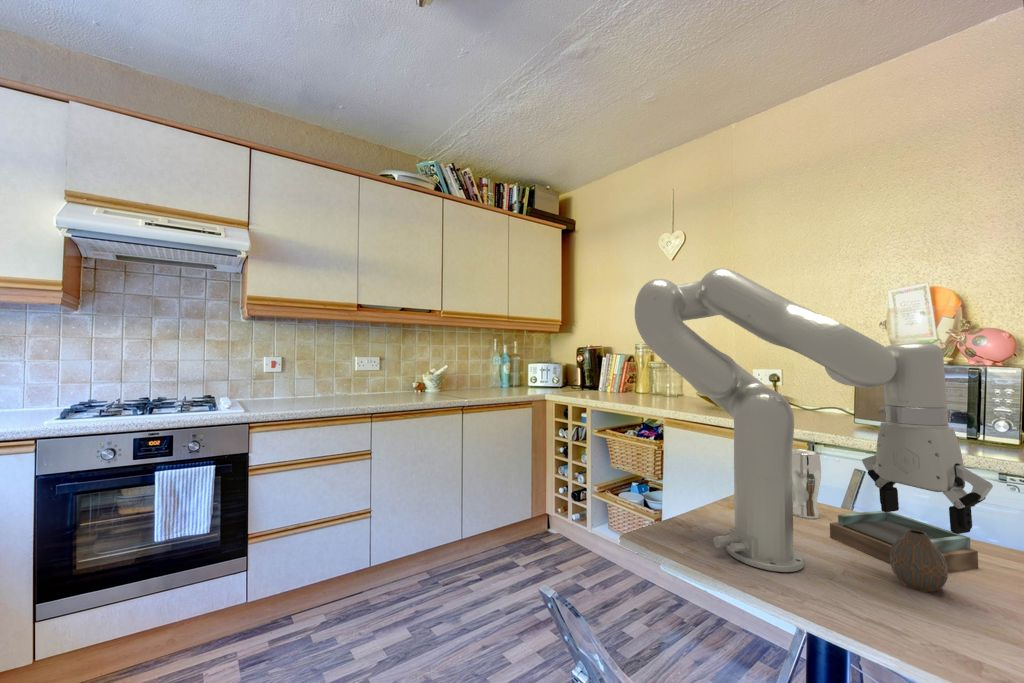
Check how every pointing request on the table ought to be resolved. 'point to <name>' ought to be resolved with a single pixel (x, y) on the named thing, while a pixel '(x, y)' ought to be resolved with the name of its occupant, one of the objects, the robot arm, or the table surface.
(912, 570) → the vase
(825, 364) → the robot arm
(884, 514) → the dock
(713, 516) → the table surface
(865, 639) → the table surface
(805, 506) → the beer glass
